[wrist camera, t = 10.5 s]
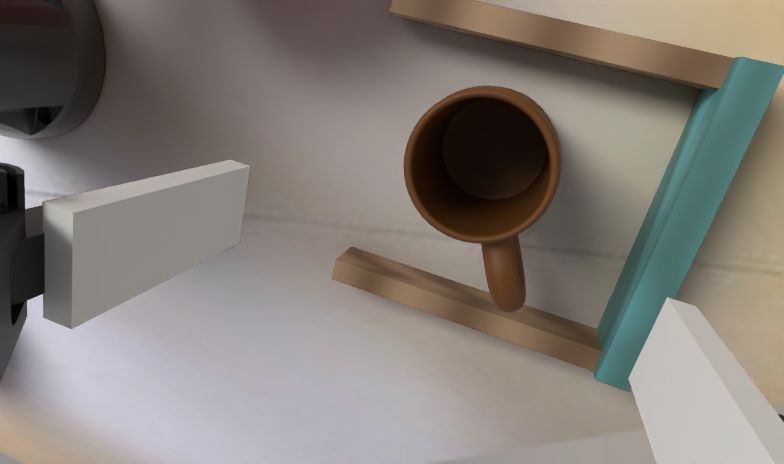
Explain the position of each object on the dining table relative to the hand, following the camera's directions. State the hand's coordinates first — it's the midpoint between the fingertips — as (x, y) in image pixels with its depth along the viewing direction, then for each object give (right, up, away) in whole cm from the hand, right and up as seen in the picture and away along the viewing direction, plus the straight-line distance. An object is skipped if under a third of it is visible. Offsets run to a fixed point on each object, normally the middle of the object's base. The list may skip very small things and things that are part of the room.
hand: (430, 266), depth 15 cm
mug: (+6, +4, +17) cm, 19 cm away
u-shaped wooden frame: (+6, +5, +17) cm, 19 cm away
